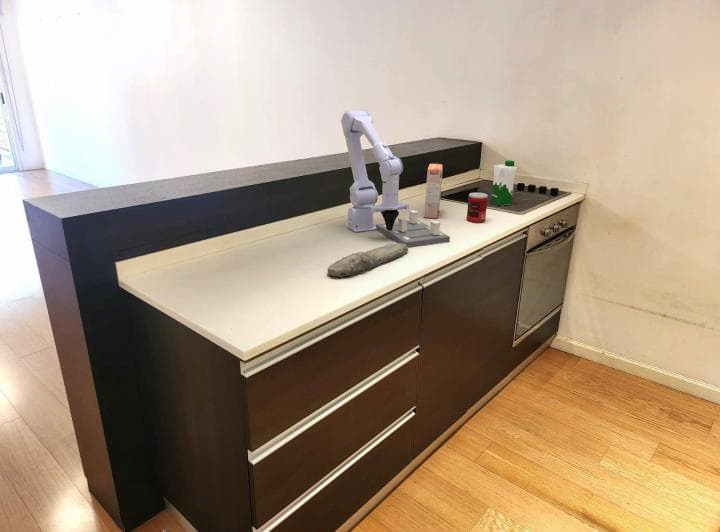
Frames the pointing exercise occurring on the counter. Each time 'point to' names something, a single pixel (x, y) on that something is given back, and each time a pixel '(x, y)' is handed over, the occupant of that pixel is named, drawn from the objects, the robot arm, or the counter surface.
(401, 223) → the block
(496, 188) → the milk carton
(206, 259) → the counter surface
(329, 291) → the counter surface
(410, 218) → the block
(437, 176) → the cracker box
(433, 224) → the block
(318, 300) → the counter surface
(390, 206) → the robot arm
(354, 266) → the elongated rock
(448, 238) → the breaker panel
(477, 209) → the canned food
